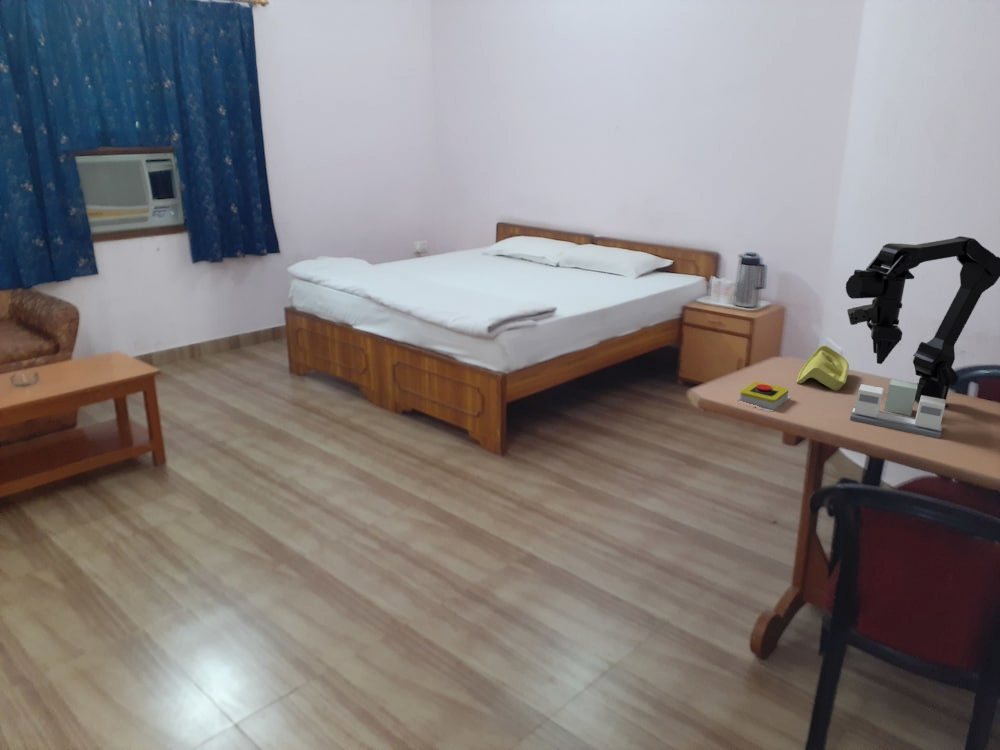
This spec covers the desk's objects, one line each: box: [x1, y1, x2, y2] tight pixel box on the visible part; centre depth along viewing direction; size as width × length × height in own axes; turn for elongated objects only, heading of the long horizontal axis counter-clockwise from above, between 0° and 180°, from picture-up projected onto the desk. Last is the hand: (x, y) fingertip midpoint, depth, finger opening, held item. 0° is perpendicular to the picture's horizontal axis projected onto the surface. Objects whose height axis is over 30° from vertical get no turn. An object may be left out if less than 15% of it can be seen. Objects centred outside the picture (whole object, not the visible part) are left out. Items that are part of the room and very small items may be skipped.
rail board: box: [849, 383, 946, 439], centre depth 175 cm, size 19×8×7 cm, turn 60°
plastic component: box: [795, 345, 850, 391], centre depth 207 cm, size 20×7×10 cm
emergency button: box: [738, 381, 791, 413], centre depth 188 cm, size 9×4×15 cm
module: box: [883, 378, 918, 417], centre depth 184 cm, size 6×5×7 cm
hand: (877, 358), depth 184 cm, fingers open, 9 cm apart
